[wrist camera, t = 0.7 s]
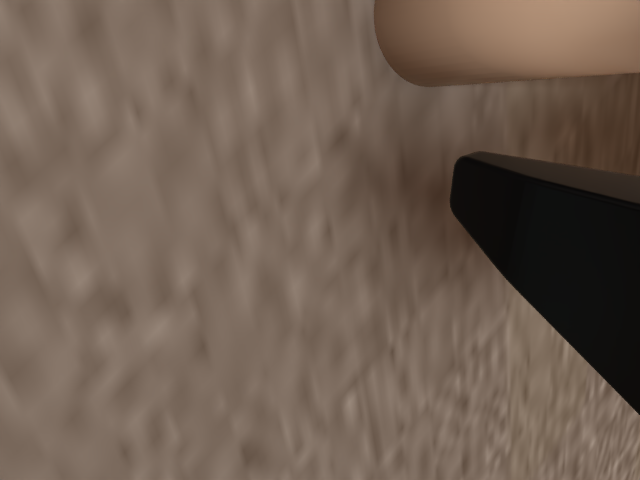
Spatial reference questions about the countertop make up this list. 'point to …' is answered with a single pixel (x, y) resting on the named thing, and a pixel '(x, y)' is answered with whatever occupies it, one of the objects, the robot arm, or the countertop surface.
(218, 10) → the countertop surface
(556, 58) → the canister
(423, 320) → the countertop surface
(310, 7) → the countertop surface
